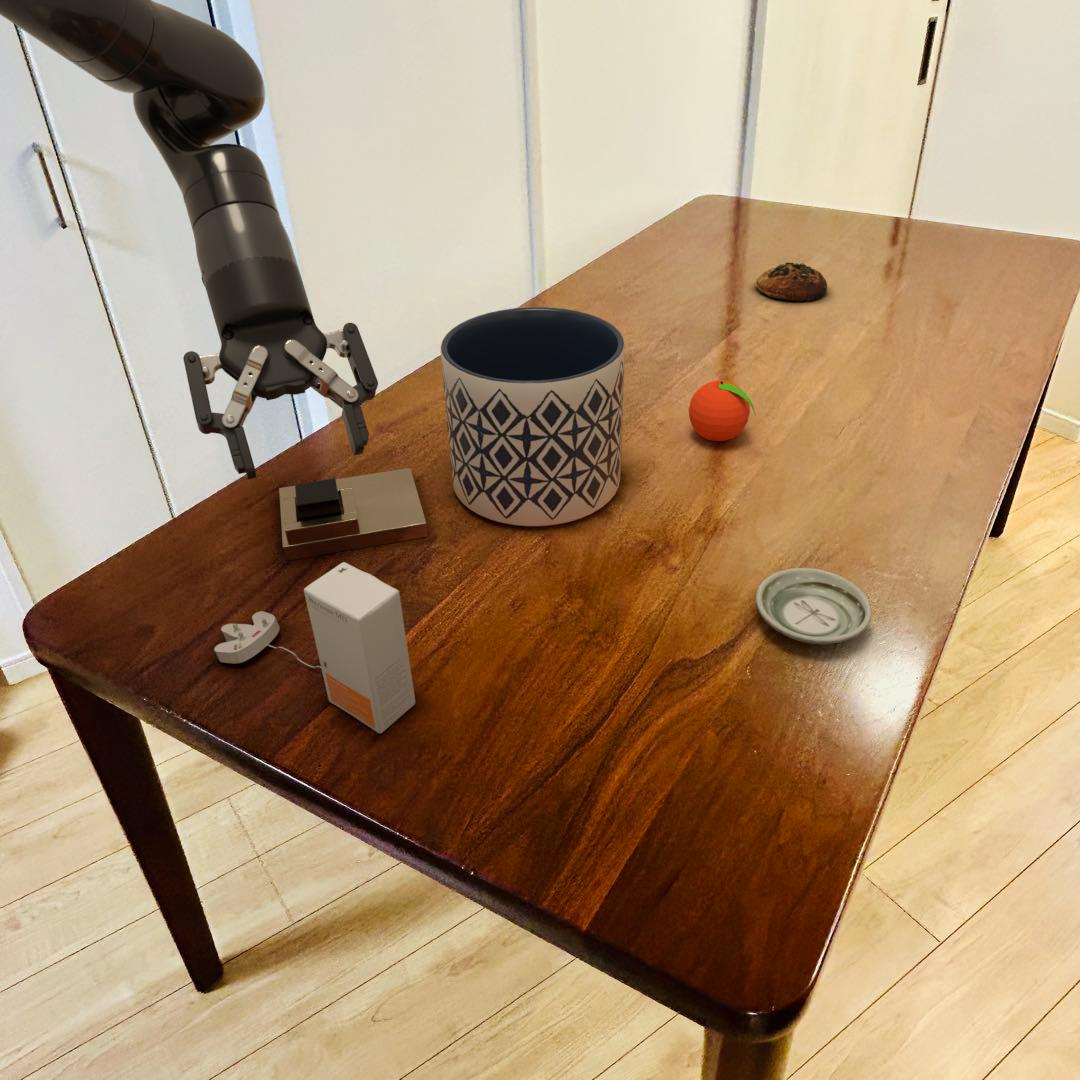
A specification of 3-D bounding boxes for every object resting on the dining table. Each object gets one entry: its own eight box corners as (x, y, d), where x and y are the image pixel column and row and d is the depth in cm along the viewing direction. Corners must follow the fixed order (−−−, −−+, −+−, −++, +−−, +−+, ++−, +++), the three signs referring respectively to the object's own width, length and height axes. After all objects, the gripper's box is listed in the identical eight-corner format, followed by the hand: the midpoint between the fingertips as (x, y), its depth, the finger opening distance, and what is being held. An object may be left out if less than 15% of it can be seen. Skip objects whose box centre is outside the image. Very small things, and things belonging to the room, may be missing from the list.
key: (300, 523, 88) (296, 505, 86) (298, 501, 91) (294, 484, 90) (341, 516, 88) (338, 498, 87) (338, 494, 92) (335, 477, 90)
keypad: (286, 561, 88) (279, 531, 86) (282, 501, 96) (275, 473, 94) (428, 536, 91) (424, 507, 89) (412, 480, 99) (408, 453, 97)
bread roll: (815, 306, 136) (816, 273, 133) (745, 303, 142) (744, 271, 139) (837, 286, 144) (838, 254, 141) (769, 284, 149) (769, 253, 147)
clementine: (765, 437, 105) (773, 381, 101) (735, 461, 101) (742, 404, 97) (705, 417, 109) (711, 363, 105) (674, 440, 105) (679, 384, 101)
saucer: (731, 627, 79) (734, 606, 77) (786, 574, 84) (789, 553, 83) (835, 677, 73) (840, 655, 72) (885, 617, 79) (891, 596, 78)
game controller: (235, 621, 81) (229, 598, 79) (358, 634, 79) (354, 612, 78) (206, 665, 76) (198, 642, 75) (335, 680, 75) (331, 657, 73)
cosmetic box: (327, 703, 72) (300, 587, 65) (365, 673, 75) (343, 558, 68) (380, 737, 69) (358, 620, 62) (418, 704, 72) (401, 588, 65)
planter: (503, 551, 88) (495, 400, 79) (425, 469, 101) (409, 331, 91) (653, 496, 96) (662, 352, 86) (563, 426, 108) (562, 294, 99)
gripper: (153, 268, 67) (210, 472, 66) (341, 239, 72) (399, 429, 70) (166, 312, 74) (217, 497, 73) (336, 283, 79) (388, 457, 77)
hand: (306, 464), depth 71 cm, fingers open, 8 cm apart
